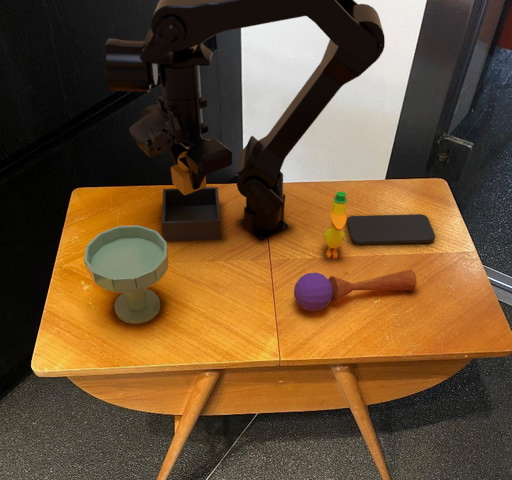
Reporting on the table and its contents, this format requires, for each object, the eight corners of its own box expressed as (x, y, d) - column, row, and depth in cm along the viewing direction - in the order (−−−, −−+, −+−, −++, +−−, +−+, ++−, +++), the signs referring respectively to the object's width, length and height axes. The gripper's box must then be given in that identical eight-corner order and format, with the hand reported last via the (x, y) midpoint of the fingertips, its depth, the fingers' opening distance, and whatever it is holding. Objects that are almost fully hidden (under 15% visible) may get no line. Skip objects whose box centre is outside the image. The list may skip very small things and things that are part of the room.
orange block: (194, 175, 95) (191, 143, 91) (206, 187, 93) (204, 154, 89) (172, 184, 94) (168, 151, 89) (184, 195, 92) (181, 162, 87)
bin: (218, 204, 103) (217, 186, 100) (221, 239, 97) (220, 221, 94) (165, 206, 102) (162, 188, 99) (164, 241, 96) (161, 223, 93)
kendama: (425, 283, 85) (305, 299, 80) (410, 305, 90) (296, 320, 85) (411, 253, 88) (293, 266, 83) (397, 276, 93) (286, 289, 88)
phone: (346, 215, 101) (426, 213, 101) (345, 219, 101) (425, 217, 102) (353, 242, 96) (437, 239, 96) (352, 245, 96) (435, 243, 97)
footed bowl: (152, 272, 91) (143, 216, 82) (187, 314, 85) (181, 258, 76) (88, 300, 87) (71, 243, 78) (121, 346, 81) (106, 290, 72)
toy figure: (342, 268, 93) (354, 210, 83) (321, 267, 93) (330, 209, 83) (340, 242, 97) (351, 184, 88) (320, 241, 97) (328, 183, 88)
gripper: (104, 81, 83) (121, 171, 95) (164, 135, 73) (175, 228, 85) (168, 63, 87) (177, 152, 99) (233, 112, 77) (234, 204, 89)
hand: (189, 182), depth 93 cm, fingers closed on orange block, 4 cm apart
